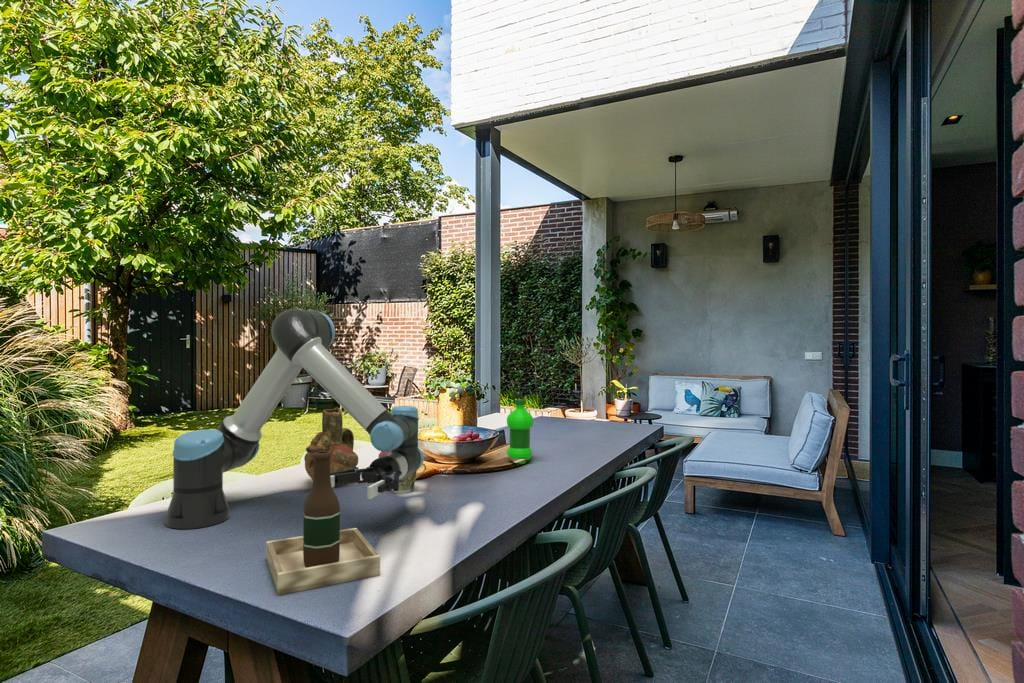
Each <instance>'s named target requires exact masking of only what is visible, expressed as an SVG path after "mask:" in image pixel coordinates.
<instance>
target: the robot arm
mask: <svg viewBox="0 0 1024 683" xmlns="http://www.w3.org/2000/svg"><path fill="white" fill-rule="evenodd" d="M270 332H271V333H270V334H271V338H272V341H273V342H274V344H275V345H276V348H277V349H276V351H275V352H274V354H273V356H272V357H271V358H270V360H269V361H268V363H267V364H266V366H265V367H264V369H263V370H262V372H261V374H260V375H259V377H258V378H257V379H256V381H255V383H254V384H253V385H252V387H251V389H250V390H249V391H248V393H247V394H246V395H245V398H244V399H243V400H242V402H241V404H240V405H239V406H238V408H237V409H236V411H235V413H234V414H232V415H229V416H228V415H227V416H225V417H224V419H223V420H222V422H220V425H219V426H218V427H217V429H213V428H211V429H209V428H207V429H197V430H195V431H193V430H192V431H188V432H185V433H183V434H181V435H178V436H177V437H176V438H175V440H174V443H173V450H172V456H173V462H172V463H173V468H172V470H173V476H172V478H173V482H172V483H173V485H172V486H173V490H172V491H173V493H172V496H171V497H172V498H171V500H170V502H169V506H168V507H167V511H166V514H165V526H166V527H168V528H170V529H176V530H177V529H178V530H184V529H185V530H189V529H200V528H201V529H202V528H206V527H211V526H214V525H218V524H220V523H223V522H225V521H227V520H228V519H229V518H230V514H231V513H230V512H231V511H230V510H231V509H230V505H229V503H228V500H227V497H226V494H225V492H224V488H223V486H224V484H223V482H224V481H223V480H224V475H223V474H224V473H226V472H229V471H231V470H234V469H237V468H241V467H243V466H245V465H247V464H248V463H250V462H251V461H252V460H253V459H254V458H256V456H257V455H258V452H259V450H260V440H261V439H262V437H263V434H262V431H261V430H262V428H263V427H264V425H265V424H266V423H267V421H268V420H269V418H270V416H271V415H272V413H273V412H275V411H274V410H276V408H277V406H278V404H280V401H281V400H282V399H283V397H284V395H285V394H286V393H287V391H288V390H289V389H290V387H291V385H292V384H293V382H294V381H295V380H296V378H297V376H298V375H299V374H300V372H301V371H302V369H304V370H305V371H306V373H308V374H309V375H310V376H311V377H312V378H313V379H314V381H316V382H317V383H318V384H319V385H320V386H321V387H322V389H324V390H325V391H326V392H327V393H328V394H329V395H330V397H332V398H333V399H334V400H335V402H337V403H338V405H339V406H341V408H343V409H344V411H346V412H347V413H348V415H350V416H351V418H353V420H354V421H356V423H357V424H358V425H359V426H360V427H362V428H363V429H364V430H365V431H366V432H367V434H369V439H370V443H371V445H372V447H374V449H376V450H377V451H379V452H381V451H382V452H387V451H391V453H389V454H387V455H385V456H383V457H380V458H379V457H378V458H376V459H374V460H373V461H371V463H370V465H369V466H367V467H365V468H359V467H358V466H356V467H355V468H352V469H347V470H342V471H336V472H331V473H330V476H331V486H332V489H333V488H335V487H336V486H339V485H346V484H353V483H356V484H359V485H360V484H370V485H369V486H367V487H366V490H367V494H366V495H367V499H368V500H371V499H373V498H375V497H377V496H379V495H381V494H383V493H384V492H390V491H392V489H393V491H398V490H399V483H400V482H401V481H402V478H403V477H405V476H407V475H410V474H413V473H414V472H415V471H417V472H418V470H420V468H421V467H423V465H422V464H424V461H425V460H424V459H425V456H424V453H423V451H422V450H421V448H420V447H419V420H420V418H419V410H418V408H417V407H416V406H413V405H397V406H393V407H392V408H391V412H390V411H389V410H388V409H387V408H386V407H385V406H384V405H383V404H382V403H380V401H379V400H378V399H377V397H375V396H374V395H373V394H372V393H370V391H369V390H368V389H367V388H366V387H365V386H364V385H363V384H362V383H361V382H360V381H359V380H358V379H357V378H356V377H355V376H354V375H353V374H351V373H350V372H349V370H348V369H347V368H346V367H345V366H344V365H343V364H341V362H340V361H338V359H337V358H336V357H335V356H334V355H333V354H332V353H331V352H330V351H329V350H328V349H327V348H329V347H330V346H331V345H332V344H333V342H334V340H335V337H336V328H335V325H334V322H333V320H332V319H331V318H330V317H329V316H328V315H327V314H325V313H323V312H321V311H319V310H314V309H310V310H308V309H299V308H291V309H290V308H289V309H286V310H284V311H282V312H280V313H278V315H277V316H276V317H275V318H274V319H273V322H272V323H271V330H270ZM393 491H392V492H393Z"/></svg>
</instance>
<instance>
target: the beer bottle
mask: <svg viewBox="0 0 1024 683" xmlns="http://www.w3.org/2000/svg"><path fill="white" fill-rule="evenodd" d="M313 457H314V459H315V462H314V476H313V479H312V486H311V490H310V491H309V493H308V494H307V496H306V498H305V500H304V503H303V524H302V526H303V530H302V531H303V533H302V534H303V535H302V536H303V558H304V564H305V567H307V568H308V567H313V566H319V565H324V564H330V563H336V562H338V561H339V553H340V530H341V528H340V527H341V526H340V524H341V521H340V520H341V509H340V507H341V506H340V502H339V498H338V496H337V494H336V493H335V490H334V489H333V488H332V486H331V476H330V458H331V455H330V452H328V451H319V452H315V453H314V456H313Z"/></svg>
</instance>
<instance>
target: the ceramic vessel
mask: <svg viewBox="0 0 1024 683" xmlns="http://www.w3.org/2000/svg"><path fill="white" fill-rule="evenodd" d="M321 414H322V418H321V429H322V430H321V431H319V432H317V433H316V435H315V436H314V437H313V438H312V439H311V441H310V445H308V446H307V447H306V448H305V452H306V453H305V455H304V457H303V459H304V468H305V472H306V473H307V475H308V477H309V478H310V479H312V480H313V476H314V462H315V459H314V457H313V456H314V453H315V452H319V451H328V452H330V455H331V458H330V473H331V472H336V471H342V470H347V469H352V468H355V467H358V464H359V456H358V454H357V453H356V452H355V451H354V445H355V444H354V443H355V442H354V440H355V438H354V437H355V436H354V433H353V431H352V430H351V429H349V428H347V427H343V412H342V408H331V409H328V408H326V409H323V410H322V412H321Z"/></svg>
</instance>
